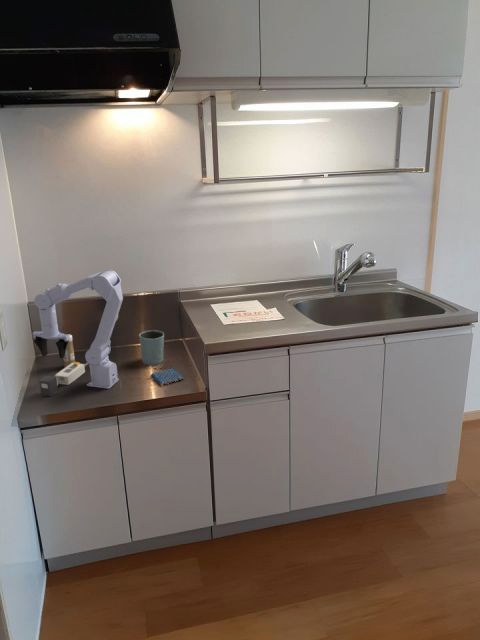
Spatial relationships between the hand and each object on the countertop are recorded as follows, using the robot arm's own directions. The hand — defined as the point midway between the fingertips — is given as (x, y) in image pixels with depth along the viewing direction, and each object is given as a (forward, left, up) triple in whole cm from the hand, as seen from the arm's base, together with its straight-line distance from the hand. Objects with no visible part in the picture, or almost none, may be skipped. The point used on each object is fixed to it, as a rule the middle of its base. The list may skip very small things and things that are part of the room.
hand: (53, 356), depth 196 cm
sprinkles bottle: (+2, -12, -10) cm, 16 cm away
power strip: (-4, -7, -10) cm, 13 cm away
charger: (-4, +11, -10) cm, 15 cm away
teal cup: (-29, -26, -10) cm, 40 cm away
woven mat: (-41, -12, -11) cm, 44 cm away
